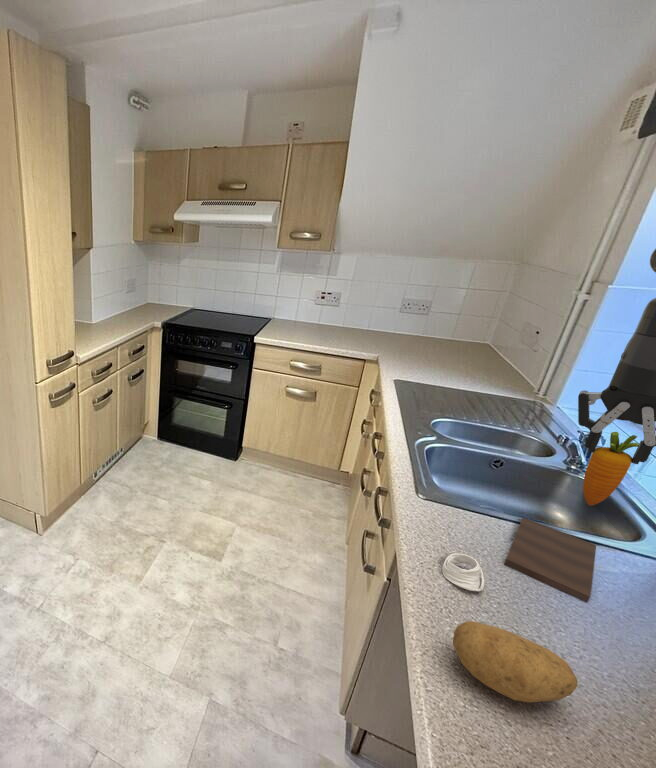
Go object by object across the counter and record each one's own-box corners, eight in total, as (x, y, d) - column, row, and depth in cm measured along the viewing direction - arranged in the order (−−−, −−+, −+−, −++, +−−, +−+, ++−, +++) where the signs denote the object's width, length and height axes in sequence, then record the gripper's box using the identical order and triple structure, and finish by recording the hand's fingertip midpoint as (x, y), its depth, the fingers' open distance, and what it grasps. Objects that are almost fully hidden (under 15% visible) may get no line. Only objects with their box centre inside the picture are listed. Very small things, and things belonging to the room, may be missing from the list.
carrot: (602, 502, 76) (637, 429, 71) (614, 517, 72) (652, 441, 67) (566, 493, 79) (597, 423, 73) (576, 508, 75) (609, 434, 69)
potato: (577, 740, 55) (601, 700, 52) (449, 689, 60) (465, 650, 58) (549, 674, 63) (569, 636, 60) (439, 634, 69) (453, 598, 66)
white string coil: (485, 603, 76) (497, 586, 73) (443, 587, 78) (453, 569, 76) (476, 571, 82) (487, 554, 80) (437, 557, 85) (447, 540, 82)
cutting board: (520, 522, 96) (522, 516, 96) (593, 550, 88) (596, 545, 87) (503, 564, 84) (506, 558, 83) (587, 602, 75) (590, 596, 75)
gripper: (726, 369, 63) (675, 465, 69) (593, 349, 73) (558, 435, 79) (732, 380, 59) (677, 482, 65) (590, 357, 69) (553, 447, 75)
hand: (612, 455), depth 72 cm, fingers closed on carrot, 4 cm apart
